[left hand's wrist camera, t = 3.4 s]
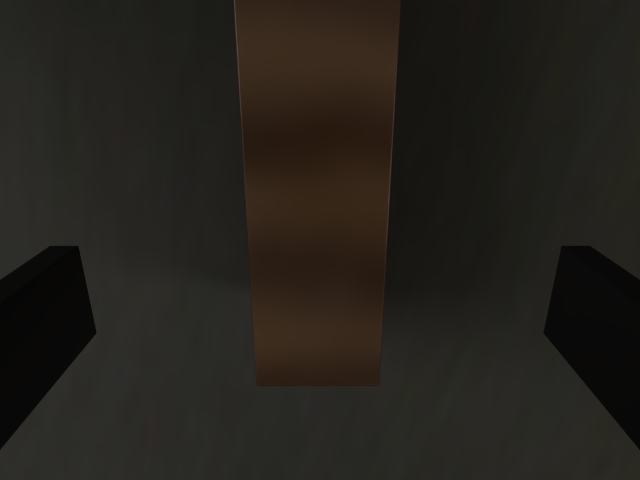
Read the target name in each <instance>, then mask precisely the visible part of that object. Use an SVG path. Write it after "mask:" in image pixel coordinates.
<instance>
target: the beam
mask: <svg viewBox="0 0 640 480" xmlns="http://www.w3.org/2000/svg"><path fill="white" fill-rule="evenodd" d="M233 4H234V20H235V37H236V53H237V69H238V86H239V102H240V119H241V135H242V151H243V168H244V184H245V200H246V217H247V233H248V250H249V266H250V282H251V299H252V315H253V331H254V348H255V364H256V381H257V386H379V380H380V363H381V345H382V328H383V310H384V293H385V275H386V258H387V240H388V223H389V205H390V188H391V170H392V153H393V135H394V118H395V100H396V83H397V65H398V48H399V30H400V13H401V0H233Z"/></svg>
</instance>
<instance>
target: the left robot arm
mask: <svg viewBox="0 0 640 480" xmlns="http://www.w3.org/2000/svg"><path fill="white" fill-rule="evenodd" d="M95 334H96V328H95V324H94V319H93V314H92V309H91V304H90V300H89V295H88V290H87V285H86V280H85V276H84V271H83V266H82V261H81V257H80V252H79V247H78V246H49V247H48V248H46V249H45V250H43V251H42V252H41V253H39V254H38V255H36V256H35V257H33V258H32V259H30V260H29V261H27V262H26V263H24V264H23V265H21V266H20V267H19V268H17V269H16V270H14V271H13V272H11V273H10V274H8V275H7V276H5V277H4V278H2V279H1V280H0V449H1V448H2V447H3V446H4V445H5V443H6V442H7V441H8V440H9V439H10V437H11V436H12V435H13V434H14V432H15V431H16V430H17V429H18V428H19V426H20V425H21V424H22V423H23V422H24V420H25V419H26V418H27V417H28V415H29V414H30V413H31V412H32V411H33V409H34V408H35V407H36V406H37V405H38V403H39V402H40V401H41V400H42V398H43V397H44V396H45V395H46V394H47V392H48V391H49V390H50V389H51V388H52V386H53V385H54V384H55V383H56V381H57V380H58V379H59V378H60V377H61V375H62V374H63V373H64V372H65V371H66V369H67V368H68V367H69V366H70V364H71V363H72V362H73V361H74V360H75V358H76V357H77V356H78V355H79V354H80V352H81V351H82V350H83V349H84V348H85V346H86V345H87V344H88V343H89V341H90V340H91V339H92V338H93V337H94V335H95ZM544 334H545V335H546V337H547V338H548V339H549V340H550V341H551V343H552V344H553V345H554V346H555V348H556V349H557V350H558V351H559V352H560V354H561V355H562V356H563V357H564V358H565V360H566V361H567V362H568V363H569V364H570V366H571V367H572V368H573V369H574V371H575V372H576V373H577V374H578V375H579V377H580V378H581V379H582V380H583V381H584V383H585V384H586V385H587V386H588V388H589V389H590V390H591V391H592V392H593V394H594V395H595V396H596V397H597V398H598V400H599V401H600V402H601V403H602V405H603V406H604V407H605V408H606V409H607V411H608V412H609V413H610V414H611V415H612V417H613V418H614V419H615V420H616V422H617V423H618V424H619V425H620V426H621V428H622V429H623V430H624V431H625V432H626V434H627V435H628V436H629V437H630V439H631V440H632V441H633V442H634V443H635V445H636V446H637V447H638V448H639V449H640V280H639V279H638V278H636V277H635V276H633V275H632V274H630V273H629V272H627V271H626V270H624V269H623V268H621V267H620V266H619V265H617V264H616V263H614V262H613V261H611V260H610V259H608V258H607V257H605V256H604V255H602V254H601V253H599V252H598V251H597V250H595V249H594V248H592V247H591V246H562V247H561V252H560V257H559V261H558V266H557V271H556V276H555V280H554V285H553V290H552V295H551V300H550V304H549V309H548V314H547V319H546V323H545V328H544Z"/></svg>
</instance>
